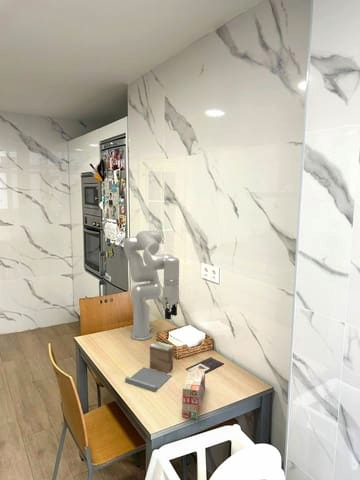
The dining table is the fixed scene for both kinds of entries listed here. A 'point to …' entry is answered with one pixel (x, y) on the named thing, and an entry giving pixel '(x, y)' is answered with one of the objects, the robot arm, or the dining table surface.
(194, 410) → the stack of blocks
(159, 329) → the dining table surface
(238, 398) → the dining table surface
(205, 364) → the chocolate bar
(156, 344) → the walnut block
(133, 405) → the dining table surface
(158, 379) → the mat
